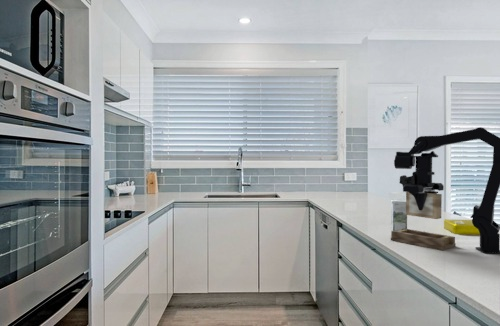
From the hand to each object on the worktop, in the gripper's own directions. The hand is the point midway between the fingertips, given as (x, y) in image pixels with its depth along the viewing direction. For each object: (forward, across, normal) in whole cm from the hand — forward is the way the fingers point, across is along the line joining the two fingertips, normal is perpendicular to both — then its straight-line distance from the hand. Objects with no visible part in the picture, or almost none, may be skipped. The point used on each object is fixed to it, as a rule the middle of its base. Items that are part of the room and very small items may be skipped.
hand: (423, 209), depth 136 cm
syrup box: (+13, -8, -15) cm, 21 cm away
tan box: (+2, 0, 0) cm, 3 cm away
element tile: (+13, -36, -1) cm, 39 cm away
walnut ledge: (+13, +1, 0) cm, 13 cm away
